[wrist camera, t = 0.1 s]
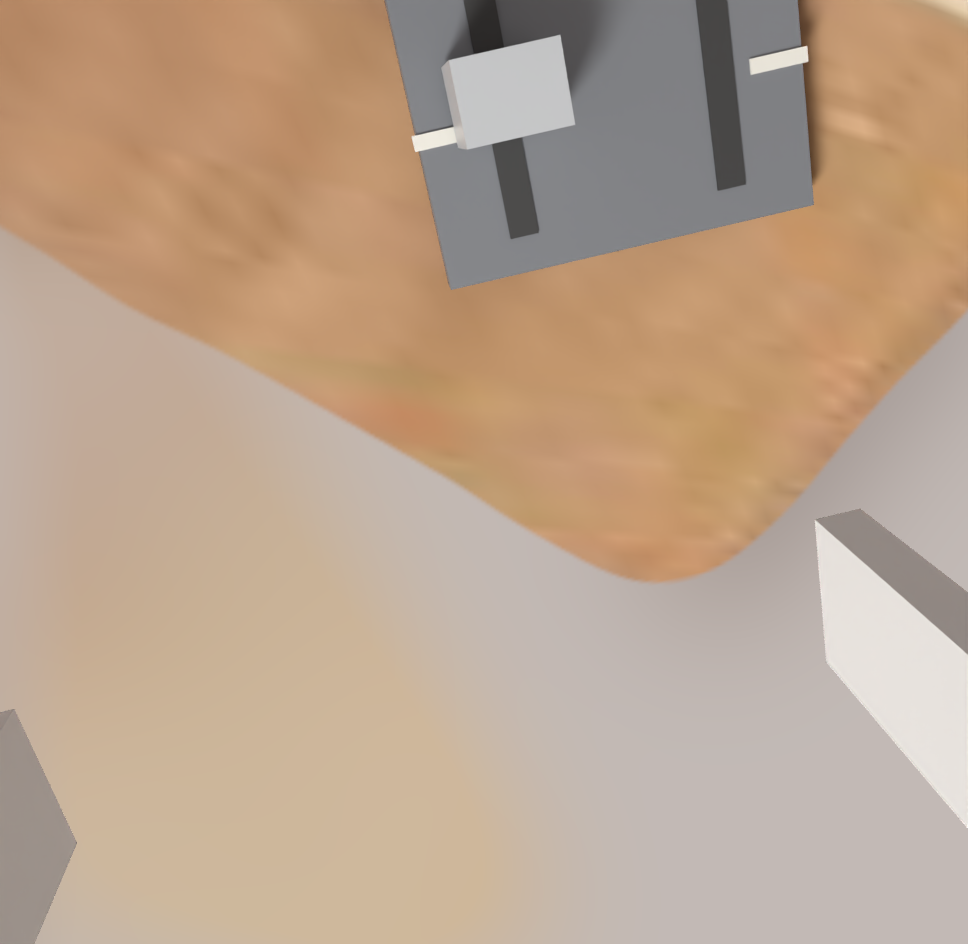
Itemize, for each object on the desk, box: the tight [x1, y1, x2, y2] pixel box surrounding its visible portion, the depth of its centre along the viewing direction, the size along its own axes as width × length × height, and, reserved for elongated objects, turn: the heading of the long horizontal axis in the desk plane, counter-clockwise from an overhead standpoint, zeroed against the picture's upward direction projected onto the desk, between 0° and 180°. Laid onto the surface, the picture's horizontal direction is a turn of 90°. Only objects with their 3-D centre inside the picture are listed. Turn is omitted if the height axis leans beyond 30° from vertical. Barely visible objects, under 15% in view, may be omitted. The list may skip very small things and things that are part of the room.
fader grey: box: [441, 35, 575, 150], centre depth 34 cm, size 3×4×4 cm
